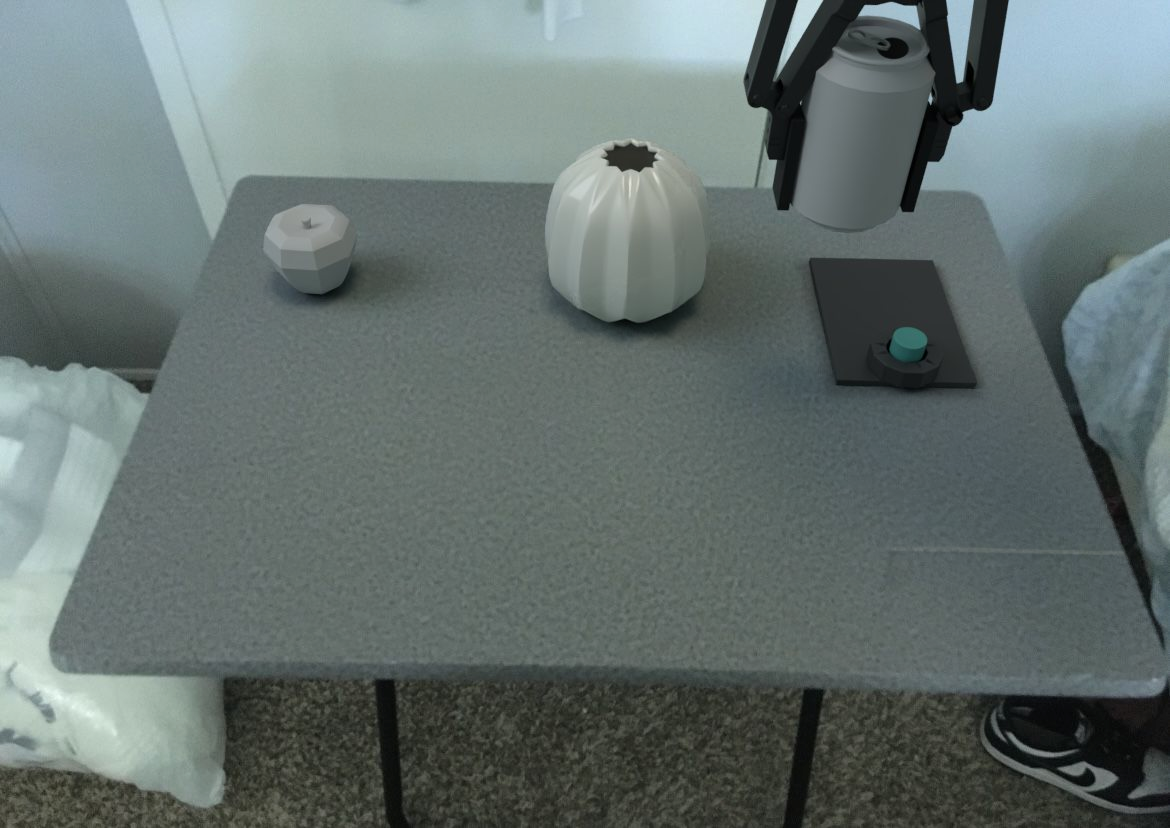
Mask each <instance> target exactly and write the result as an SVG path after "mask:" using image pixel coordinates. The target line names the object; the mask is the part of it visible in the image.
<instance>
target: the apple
mask: <svg viewBox="0 0 1170 828" xmlns="http://www.w3.org/2000/svg"><path fill="white" fill-rule="evenodd" d="M358 236H359V234H358V233H357V230H356V229H355V227H354V225H353V223H352V221H351V219H350V218H348V216H346V215H344V214H343V213H342V212H341V211H340V210H339V209H337V208H336V207H335V206H334V205H331V204H315V203H314V204H313V203H300V204H298V205H295V206H293V207H291V208H288V209H286V210H285V209H284V210H283V211H281V212H278V213H276V214H274V215H273V217H272V218H271V221H270V223H269V225H268V227H267V229H266V231H265V233H264V235H263V248H262V251H263V253H264V254H265V256H266V258H267V259H268V261H270V263H271V265H272V266H273V267H274V269H275V270H276V271H277V272H278V274H280V275H281V277H283V278H284V279H285V280H286V281H287V282H288V283H289V284H290V285H291V286H292V287H293V288H294V289H296V290H297V291H298V292H300V293H303V294H312V295H324V294H326V293H328V292H330V291H333V290H335V289H337V288H338V287H340V286H341V285H342V284H343V283H344V281H345V279H346V277H347V275H348V273H349V271H350V268H351V264H352V262H353V259H354V256H355V253H356V252H355V251H356V246H357V242H358Z"/></svg>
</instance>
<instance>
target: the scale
mask: <svg viewBox="0 0 1170 828" xmlns="http://www.w3.org/2000/svg"><path fill="white" fill-rule="evenodd" d="M808 263H809V264H808V265H809V269H810V274H811V277H812V283H813V287H814V288H813V289H814V292H815V295H816V300H817V305H818V309H819V314H820V315H819V316H820V319H821V323H822V328H823V332H824V337H825V341H826V346H827V350H828V354H829V359H830V365H831V368H832V373H833V377H834V382H835V385H836V386H864V387H865V386H870V387H899V388H909V389H910V388H912V389H913V388H914V389H915V388H916V389H917V388H956V389H957V388H958V389H959V388H960V389H961V388H962V389H963V388H964V389H965V388H966V389H976V387H977V385H978V381H977V378H976V375H975V373H974V370H973V367H972V364H971V362H970V359H969V356H968V354H967V351H966V348H965V346H964V343H963V339H962V336H961V335H960V331H959V328H958V326H957V323H956V321H955V317H954V315H953V313H952V310H951V307H950V303H949V301H948V299H947V295H946V293H945V289H944V288H943V284H942V282H941V279H940V276H939V274H938V270H937V268H936V265H935V262H934V260H933V259H899V258H898V259H897V258H896V259H895V258H894V259H893V258H851V257H850V258H849V257H809V259H808ZM903 327H911V328H915V329H918V330H920V331H921V332H923V333H924V334H925V335H926V337H927V345H926V348H925V351H924V354H923V357H922V359H921V360H920V361H918V362H916V363H905V362H902V361H900V360H897V359H895V358H894V357H893V356H892V355H891V354H890V351H889V348H890V345H891V341H892V338H893V335H894V332H895V331H896V330H897V329H899V328H903Z"/></svg>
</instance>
